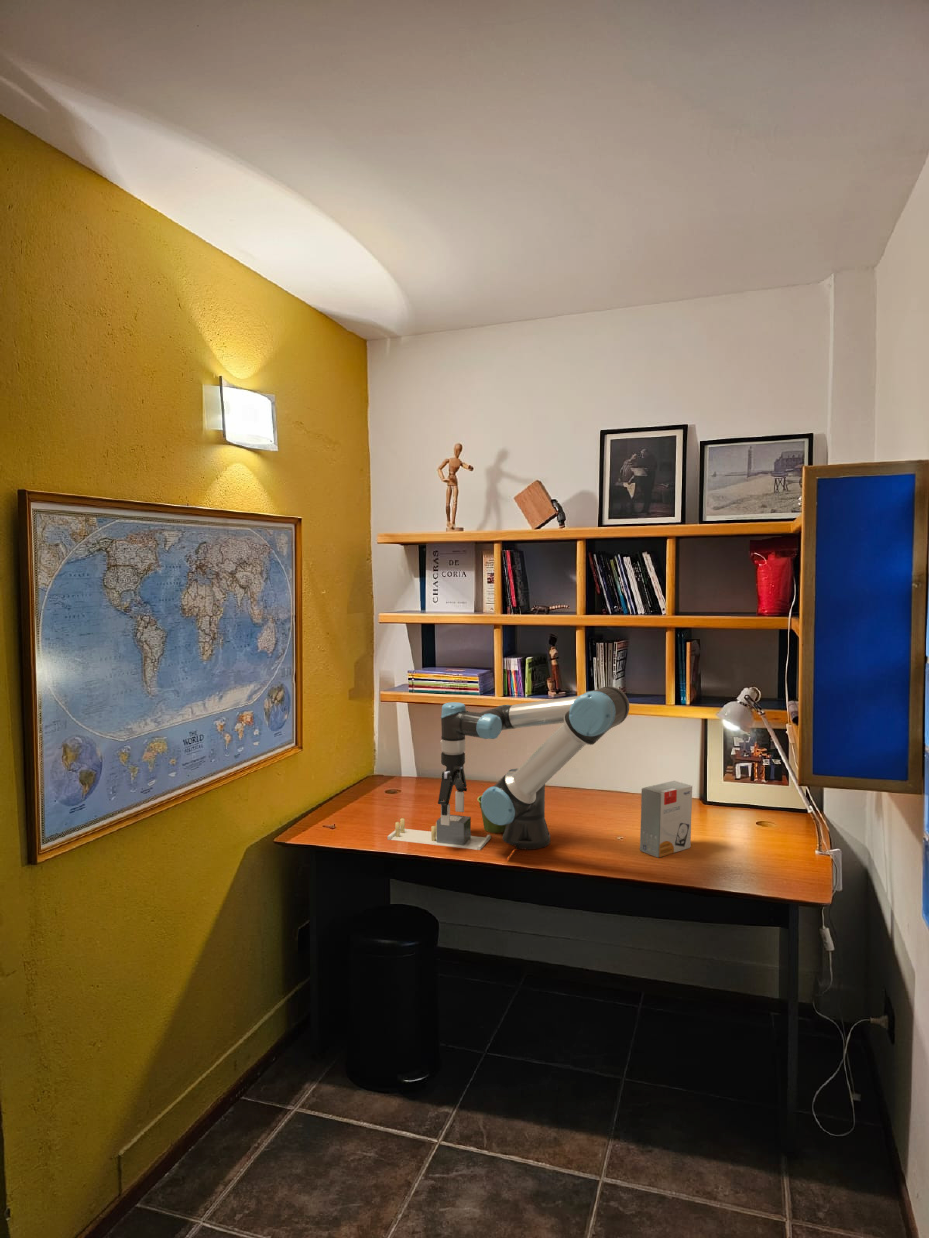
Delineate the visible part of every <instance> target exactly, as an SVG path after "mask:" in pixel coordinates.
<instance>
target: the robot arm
mask: <svg viewBox="0 0 929 1238" xmlns="http://www.w3.org/2000/svg"><path fill="white" fill-rule="evenodd" d="M629 712H630V701H629V699H628V697H627V695H626V694H625V692H623V690H621V689H620V688H618V687H614V686H603V687H600V688H597V689H595V690H588V691H585V693H583V694H580V695H575V696H568V697H561V698H554V699H545V700H539V701H531V702H523V703H517V704H502V705H498V706H496V707H494V708H491V709H487V710H485V711H481V712H477V711H475V712H474V711H469V710H467V709H466V705H465V703H462V702H457V701H455V702H453V701H451V702H446V703H444V704H442V706H441V715H440V720H441V721H440V722H441V725H440V726H441V740H440V741H439V743H440V746H441V747H440V750H441V753H440V762H441V763H440V764H441V765H442V766H444V767H446V769H445V771H442V773H441V782H440V787H439V788H440V789H439V794H438V800H437V804H438V805H440V817H441V825H450V815H451V804H450V801H451V800H450V799H451V796H452V791H453V787H455V790H456V791H455V801H454V803H455V810H454V811H455V812H460V813H465V792H468V791H467V790H468V788H467V780H466V779H467V778H466V775H465V770H464V768H465V766H464V765H465V763H466V753H465V751H466V737H467V736H468V737H472V738H473V737H474V738H480V739H484V740H495V739H497V738H498V737H499V735H500V734H501V732H502V731H507V730H514V729H521V728H529V727H530V728H531V727H538V726H548V725H550V726H551V725H557V724H561V726H559V728H557V730H555V732H553V734H551V735H550V736H549V738H547V740H546V741H544V742H543V743H542V745H540V747H539V748H537V750H535V752H533V754H532V755H531V756H530V757H529V758H528V759H526V761H524V762H523V763H522V765H521V766H519V768H510V769H509V770H508V772H506V773H505V774H504V775H503V776H502V777H501V778H500V780H498V781H497V782H496V783H495V784H494V785H493V786H489V787H488V788H486V790H485V791H484V792H483V793H482V794H481V796H482V798H481V805H482V806H481V807H482V810H483V813H484V815H485V816H486V817H487V819H488V820H489V821H491V822H492V823H494V824H497V825H505V824H506V827H505V830H504V832H502V840H503V842H504V843H506V844H507V845H510V846H511V845H512V846H514V849H519V850H537V849H542V848H545V847H547V846H549V845H550V844H551V833H550V831H549V828H548V825H547V821H546V819H545V817H546V816H545V814H546V813H545V812H546V811H545V810H546V809H545V807H546V803H545V802H546V800H545V799H546V797H545V796H546V793H545V792H546V789H545V788H546V784H547V783H548V782H549V781H550V780H551V779H552V778H553V777H554V776H555V775H556V774H557V772H559V771H560V770H561V769H562V768H563V767H564V766H565V765H566V764H567V763H568V762H569V761H570V760H571V759H573V757H575V755H576V754H578V753H579V751H580V750H582V748H584V747H585V746H586V745H589V746H592V745H595V744H596V743H597V742H598V741H599V740H600V739H601V738H602V737H603V736H604V735H605V734H606V733H608V732H609V730H611V729H613V728H614V727H616V726H618V725H620V724H622V723H624V721H625V720H626V719H627V717H628V714H629Z"/></svg>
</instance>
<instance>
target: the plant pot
mask: <svg viewBox="0 0 929 1238" xmlns="http://www.w3.org/2000/svg"><path fill="white" fill-rule="evenodd" d="M481 798H482V795H479V796H478V797H477V799H476V800H477V802H478V803H479V808H480V811H481V812H480V813H481V817H482V818H481V819H482V824H483V829H484V831H485V832H487V833H493V834H498V833H503V832H504V830H505V827H506V824H505V825H497V824H494V823H492V822H491V821H489V820H488V819H487V817H486V816H485V815H484V813H483V810H482V807H481V806H482V805H481Z"/></svg>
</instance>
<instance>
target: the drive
mask: <svg viewBox="0 0 929 1238" xmlns="http://www.w3.org/2000/svg"><path fill="white" fill-rule="evenodd" d="M471 819H472V818H471V816H469V815H457V814H450V825H441V816H440V817H439V818H438V819H437V820H436V822H437V843H445V844H454V845H463V846H464V845H465V844H466V843H467V842H468V841H469V840H470V838H471V836H472V835H471V834H472V832H471V831H472V830H471V829H472V827H471V822H472V820H471Z"/></svg>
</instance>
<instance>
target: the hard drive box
mask: <svg viewBox="0 0 929 1238" xmlns="http://www.w3.org/2000/svg"><path fill="white" fill-rule="evenodd" d="M640 796H641V798H640V799H641V803H640V807H641V808H640V838H639V851H640V852H642V853H645V854H648V855H649V856H653V857H654V858H661V857H666V856H668V855H671V854H674V853H678V852H680V851H681V852H682V851H685V850H688V849H690V848H691V844H692V843H691V841H692V813H693V812H692V810H693V809H692V808H693V807H692V805H693V804H692V803H693V800H692V799H693V785H691V784H688V783H683V782H679V781H677V780H672V781H666V782H662V783H658V784H654V785H650V786H645V787H642V788H641V795H640Z"/></svg>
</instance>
